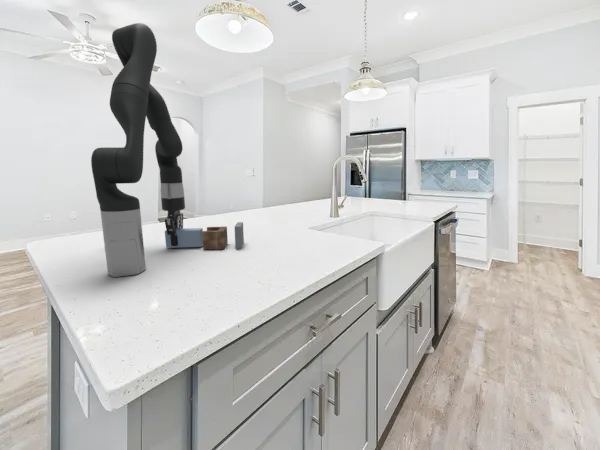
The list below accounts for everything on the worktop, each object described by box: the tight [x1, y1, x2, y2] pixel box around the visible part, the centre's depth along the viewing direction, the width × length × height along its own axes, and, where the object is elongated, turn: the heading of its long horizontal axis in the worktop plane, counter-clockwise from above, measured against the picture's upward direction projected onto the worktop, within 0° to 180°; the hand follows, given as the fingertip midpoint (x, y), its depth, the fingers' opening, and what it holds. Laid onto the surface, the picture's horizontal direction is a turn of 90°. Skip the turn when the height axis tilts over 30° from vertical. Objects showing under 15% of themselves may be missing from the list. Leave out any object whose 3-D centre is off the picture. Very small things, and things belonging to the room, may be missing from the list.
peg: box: [164, 227, 204, 249], centre depth 112 cm, size 12×4×6 cm, turn 96°
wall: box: [234, 221, 245, 250], centre depth 113 cm, size 2×9×8 cm, turn 4°
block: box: [202, 226, 229, 250], centre depth 113 cm, size 7×9×6 cm
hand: (176, 243), depth 112 cm, fingers closed on peg, 4 cm apart
